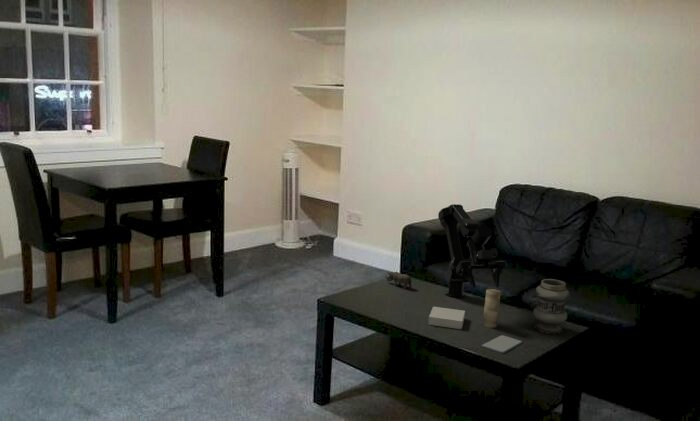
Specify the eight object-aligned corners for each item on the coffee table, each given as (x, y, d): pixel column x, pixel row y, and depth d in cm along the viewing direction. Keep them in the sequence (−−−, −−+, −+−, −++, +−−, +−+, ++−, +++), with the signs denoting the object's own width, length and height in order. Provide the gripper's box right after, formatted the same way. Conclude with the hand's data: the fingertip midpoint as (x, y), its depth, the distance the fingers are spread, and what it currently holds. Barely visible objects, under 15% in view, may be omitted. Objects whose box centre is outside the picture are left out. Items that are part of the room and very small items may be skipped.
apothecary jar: (524, 324, 250) (529, 278, 246) (550, 321, 255) (556, 276, 251) (545, 336, 239) (551, 288, 235) (572, 333, 244) (578, 285, 240)
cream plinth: (432, 314, 255) (433, 306, 255) (464, 318, 253) (465, 310, 252) (428, 324, 244) (428, 316, 243) (461, 329, 241) (462, 321, 241)
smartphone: (523, 341, 232) (503, 352, 221) (522, 344, 232) (502, 355, 221) (501, 334, 237) (480, 345, 226) (501, 337, 238) (480, 347, 226)
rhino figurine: (388, 281, 295) (389, 268, 293) (413, 288, 286) (414, 275, 285) (382, 282, 292) (383, 269, 290) (407, 290, 283) (408, 277, 281)
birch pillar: (486, 321, 251) (490, 288, 248) (499, 325, 248) (503, 291, 245) (480, 324, 247) (483, 291, 244) (492, 328, 244) (496, 294, 241)
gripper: (461, 240, 250) (470, 277, 242) (507, 240, 255) (517, 276, 246) (451, 255, 259) (460, 291, 251) (496, 255, 264) (506, 290, 255)
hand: (486, 287), depth 251 cm, fingers open, 9 cm apart
